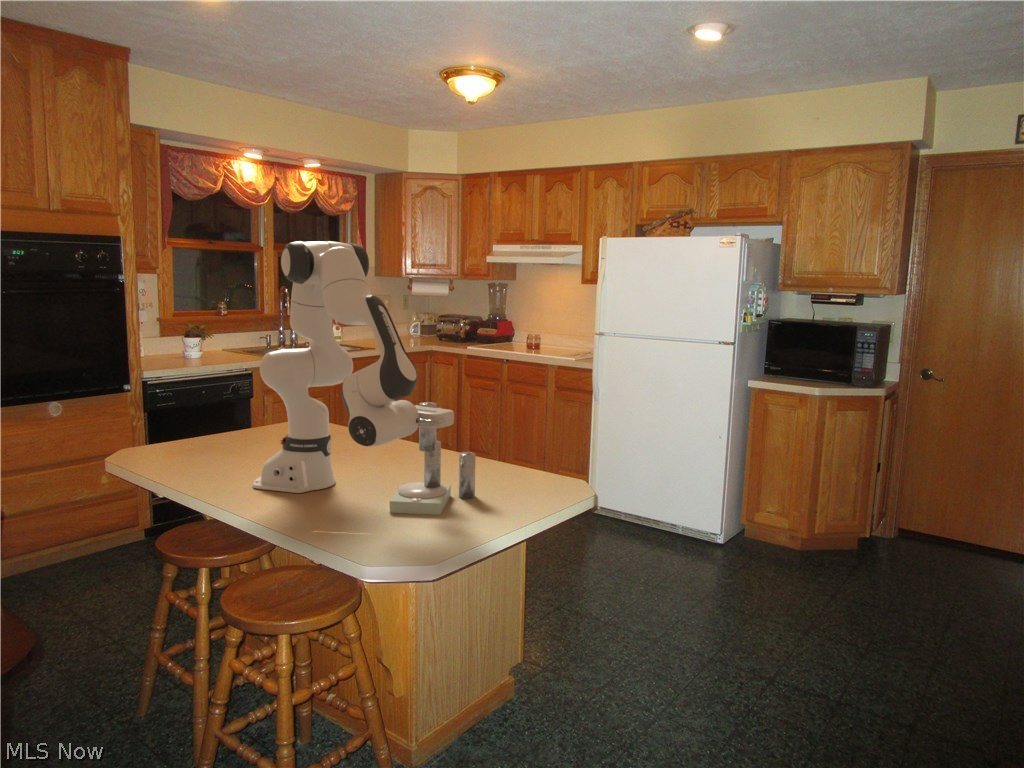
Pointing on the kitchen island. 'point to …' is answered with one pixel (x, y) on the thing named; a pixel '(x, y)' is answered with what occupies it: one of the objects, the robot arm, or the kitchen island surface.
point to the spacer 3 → (467, 475)
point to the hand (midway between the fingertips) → (429, 409)
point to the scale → (420, 499)
